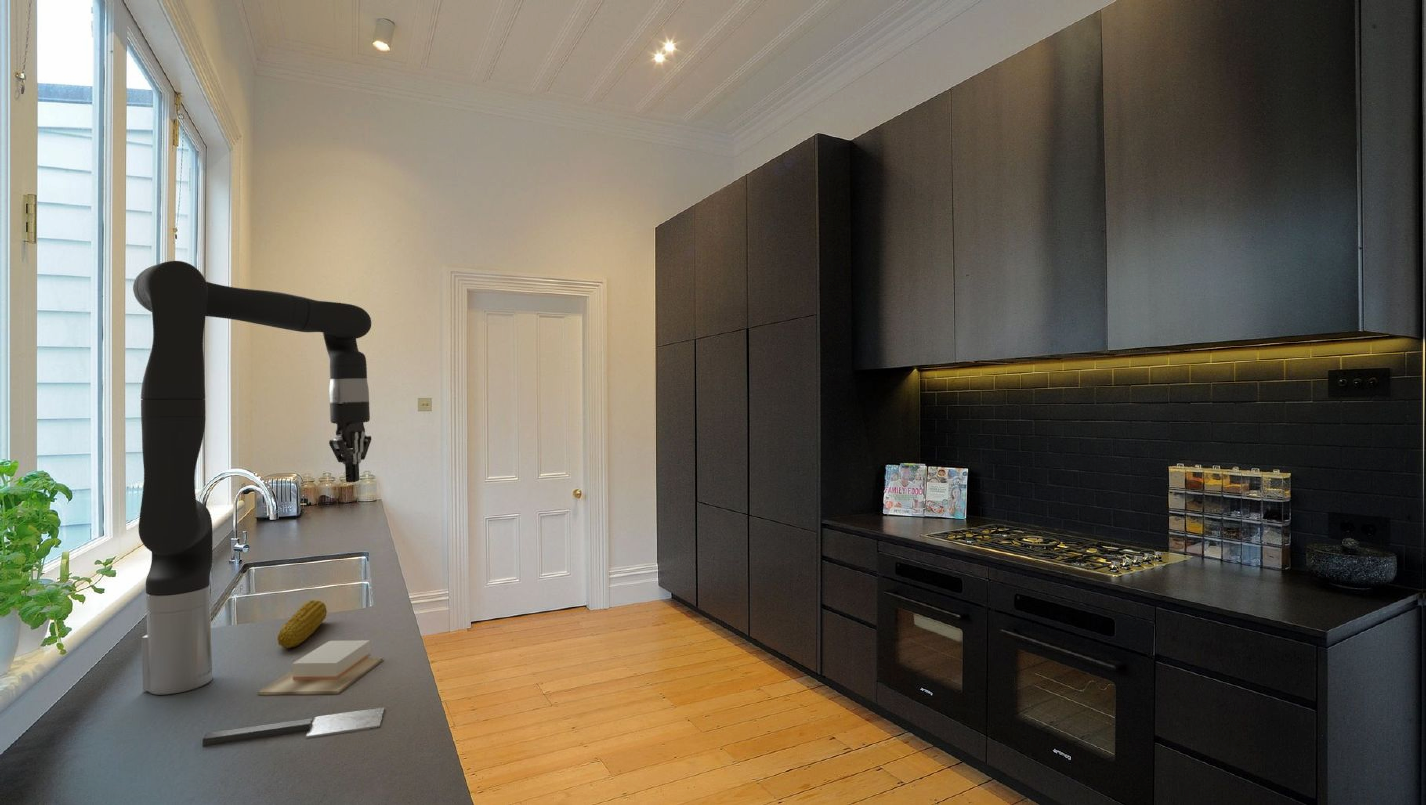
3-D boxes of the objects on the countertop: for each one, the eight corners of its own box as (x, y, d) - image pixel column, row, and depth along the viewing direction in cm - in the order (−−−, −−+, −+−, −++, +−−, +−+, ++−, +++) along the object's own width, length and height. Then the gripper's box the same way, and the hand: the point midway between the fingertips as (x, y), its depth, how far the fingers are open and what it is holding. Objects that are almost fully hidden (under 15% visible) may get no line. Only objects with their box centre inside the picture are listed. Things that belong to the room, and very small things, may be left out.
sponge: (329, 655, 143) (292, 679, 131) (329, 640, 143) (292, 663, 131) (370, 655, 142) (336, 679, 130) (369, 640, 142) (336, 662, 130)
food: (303, 624, 166) (302, 598, 166) (330, 621, 167) (329, 595, 167) (272, 655, 146) (271, 625, 145) (303, 652, 147) (302, 623, 147)
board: (257, 694, 126) (257, 691, 126) (311, 660, 142) (311, 658, 142) (337, 693, 125) (337, 690, 125) (382, 659, 141) (382, 657, 141)
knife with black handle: (196, 754, 105) (196, 746, 105) (213, 733, 111) (212, 725, 111) (379, 727, 112) (379, 719, 112) (384, 709, 119) (384, 702, 119)
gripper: (349, 400, 162) (352, 478, 162) (314, 401, 149) (317, 486, 149) (382, 399, 161) (385, 477, 162) (350, 400, 148) (353, 485, 149)
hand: (352, 481), depth 155 cm, fingers closed
